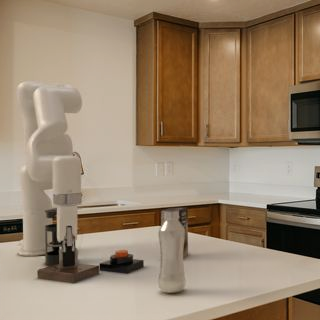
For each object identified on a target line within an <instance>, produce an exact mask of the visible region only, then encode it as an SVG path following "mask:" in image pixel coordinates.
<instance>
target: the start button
mask: <svg viewBox="0 0 320 320" xmlns="http://www.w3.org/2000/svg"><path fill="white" fill-rule="evenodd" d="M114 253H115V254H114V255H115V257H127V256H128V254H129V251H128V250H127V249H119V250H116V251H115V252H114Z"/></svg>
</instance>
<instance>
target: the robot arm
mask: <svg viewBox="0 0 320 320" xmlns="http://www.w3.org/2000/svg"><path fill="white" fill-rule="evenodd" d="M16 101H17V104H18V107H19V109H20V110H19V111H20V113H21V115H22V120H23V151H24V155H25V159H26V164H24V165H22V166H21V168H20V169H19V171H18V172H19V174H18V177H19V182H20V183H19V184H20V187H21V188H20V189H21V198H22V232H23V233H22V239H21V240H20V241H17V243H16V245H17V246H19V247H21V248H20V249H19V250H18V255H20V256H24V257H33V256H36V257H37V256H45V226H46V225H50V224H53V218H46V212H45V210H49V209H53V207H56V208H57V216H56V224H57V240H58V242H61V241H63V252H62V255H63V267H68V266H75V251H74V241H75V242H76V241H77V240H78V221H79V220H78V206H81V205H82V204H83V203H82V201H83V200H82V199H83V197H82V159H81V158H80V157H79V156H77V155H73V154H74V149H73V148H74V147H73V141H72V138H71V136H70V135H69V134H68V133H67V131H68V122H67V116H66V114H78V113H79V112H80V111H81V110H82V106H83V100H82V95H81V93H80V91H79V90H78V88H77V87H75V86H73V85H71V84H68V83H60V82H47V81H33V80H32V81H23V82H21V83H18V85H17V87H16ZM48 190H52V199H51V197H49V196H48V194H47V193H46V192H45V191H48ZM48 242H52V232H48V231H47V243H48ZM50 251H52V247H48V246H47V252H50Z"/></svg>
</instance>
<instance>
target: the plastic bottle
mask: <svg viewBox="0 0 320 320" xmlns="http://www.w3.org/2000/svg"><path fill="white" fill-rule="evenodd" d="M179 218H180V216H179V211H178V210H167V211H164V219H165V221H164V223H163V224H162V226H161V225H160V227H159V230H158V233H157V234H158V241H159V248H160V250H159V251H160V266H159V274H158V280H157V283H158V288H159V290H160V291H161V292H162V293H166V294H167V293H169V294H171V293H179V292H182V291H183V290H184V288H185V287H186V273H185V267H184V266H185V265H184V258H183V247H184V240H185V229H184V227H183V226H182V224H181V223H180V222H179V220H178V219H179Z"/></svg>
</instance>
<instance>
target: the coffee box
mask: <svg viewBox="0 0 320 320" xmlns="http://www.w3.org/2000/svg"><path fill="white" fill-rule="evenodd" d="M167 210H178V211H179V216H180V218H179V219H178V220H179V222H180V223H181V224H182V226H183V227H184V229H185V240H184V247H183V259H184V258H185V257H187V256H188V255H189V224H188V223H189V220H188V215H189V213H188V211H189V210H188V207H168V208H166V209H161V211H160V213H161V214H160V215H161V218H160V219H161V221H160V224H161V225H160V227H161V226H162V224H163V223H164V221H165V219H164V211H167Z"/></svg>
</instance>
